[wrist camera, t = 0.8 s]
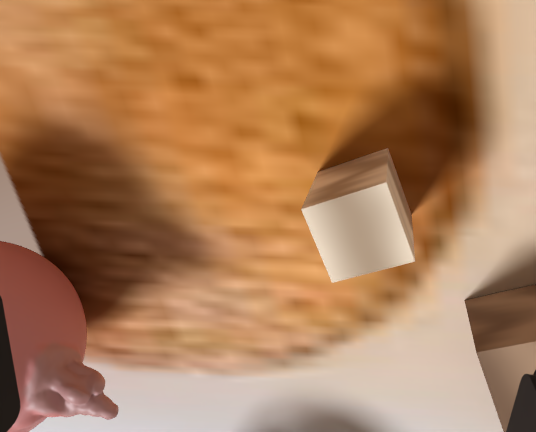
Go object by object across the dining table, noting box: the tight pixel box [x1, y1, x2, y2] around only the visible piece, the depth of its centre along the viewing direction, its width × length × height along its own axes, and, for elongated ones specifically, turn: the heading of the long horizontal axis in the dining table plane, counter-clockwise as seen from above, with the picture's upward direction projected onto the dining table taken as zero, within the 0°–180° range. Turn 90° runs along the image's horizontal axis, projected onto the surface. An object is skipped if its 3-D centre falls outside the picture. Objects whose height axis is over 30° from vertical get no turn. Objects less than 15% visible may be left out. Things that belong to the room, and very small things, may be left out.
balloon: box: [0, 241, 118, 432], centre depth 38 cm, size 15×20×15 cm
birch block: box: [301, 148, 415, 283], centre depth 32 cm, size 5×5×7 cm
